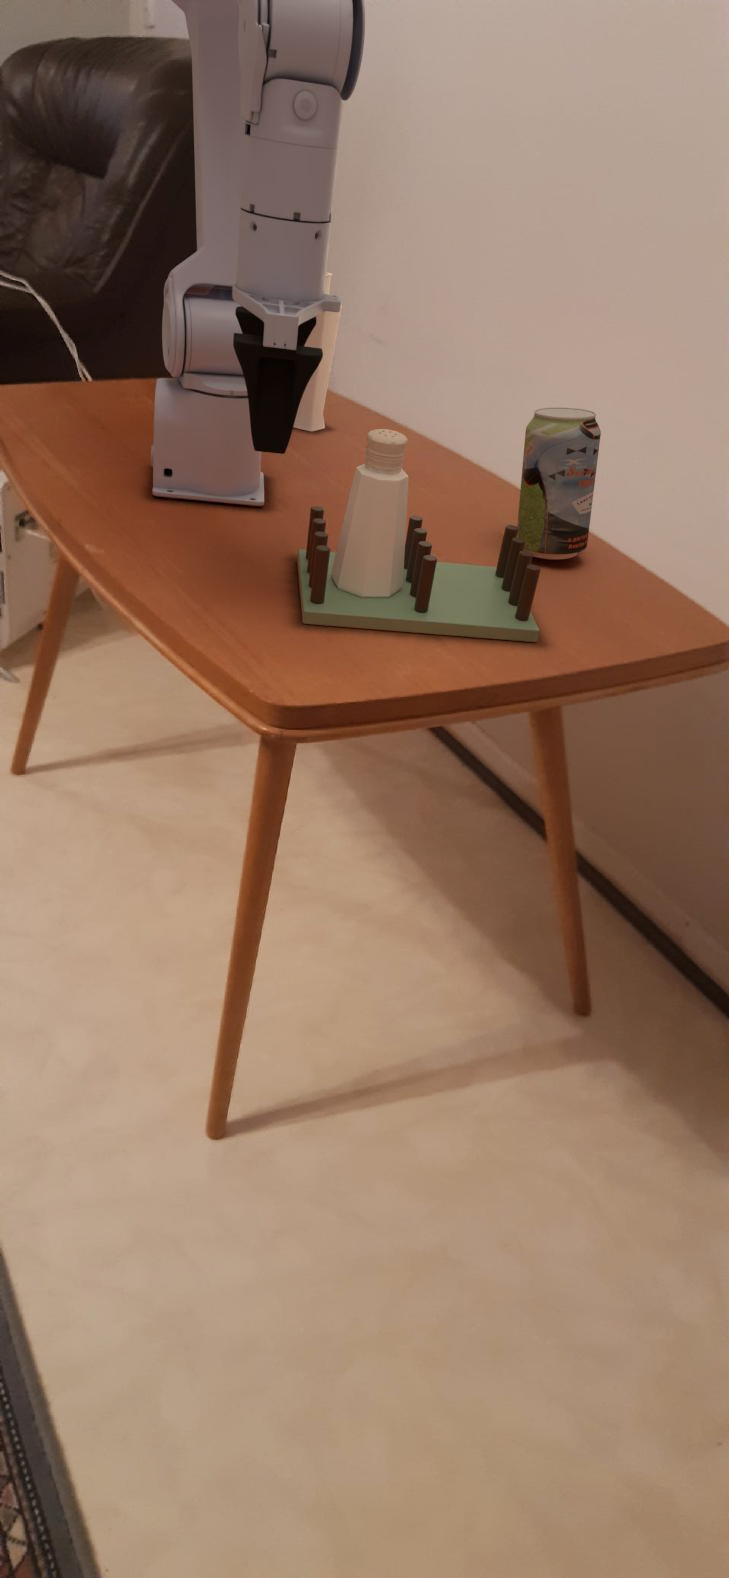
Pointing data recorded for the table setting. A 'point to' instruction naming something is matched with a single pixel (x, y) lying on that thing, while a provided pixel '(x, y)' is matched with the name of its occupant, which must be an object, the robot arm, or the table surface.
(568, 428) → the beverage can
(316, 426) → the perfume bottle
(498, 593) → the rack
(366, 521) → the salt shaker
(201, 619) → the table surface
